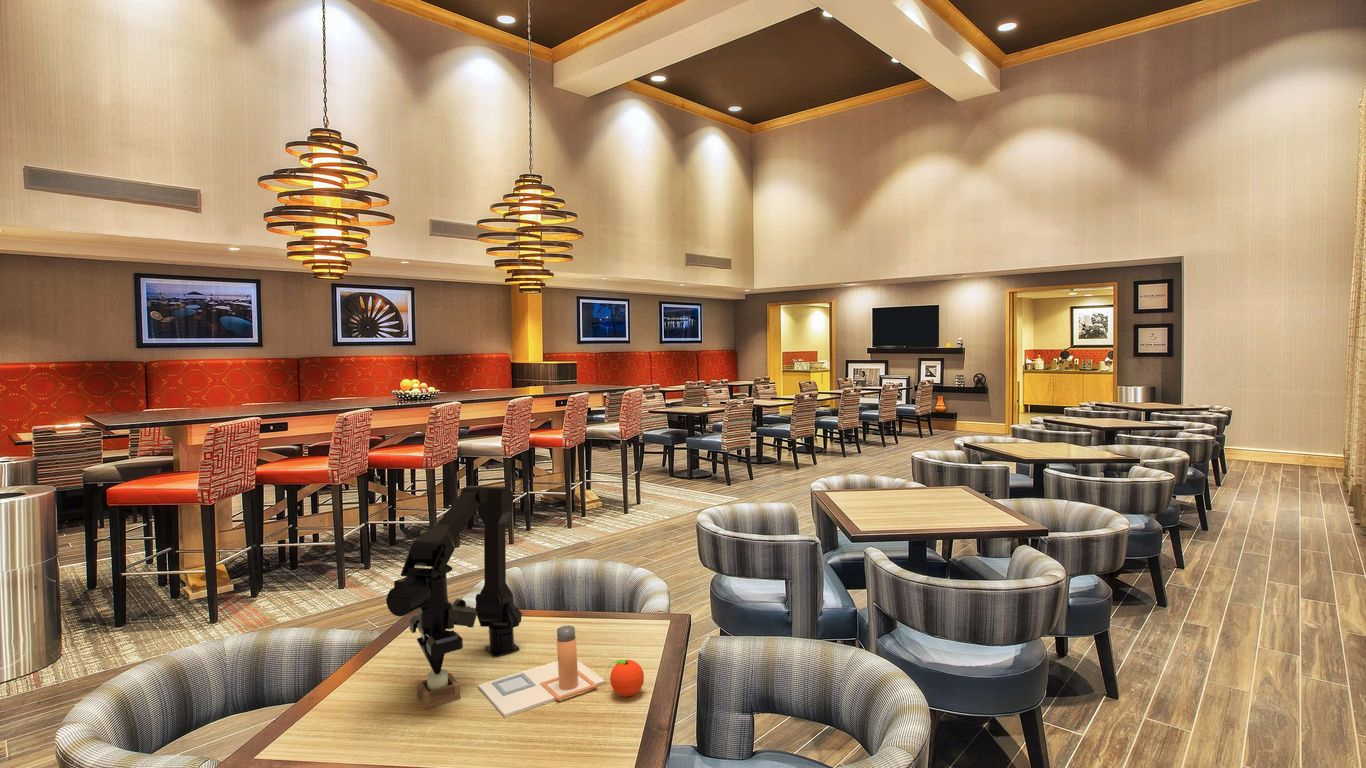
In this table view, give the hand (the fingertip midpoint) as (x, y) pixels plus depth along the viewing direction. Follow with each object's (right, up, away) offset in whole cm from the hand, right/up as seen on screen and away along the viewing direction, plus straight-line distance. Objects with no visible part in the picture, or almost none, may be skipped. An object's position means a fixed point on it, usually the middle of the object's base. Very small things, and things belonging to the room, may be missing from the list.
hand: (437, 673), depth 142 cm
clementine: (+39, -4, -2) cm, 40 cm away
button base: (0, -5, 0) cm, 5 cm away
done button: (0, -4, 0) cm, 4 cm away
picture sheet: (+21, -4, +3) cm, 22 cm away
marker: (+27, -3, +2) cm, 27 cm away
